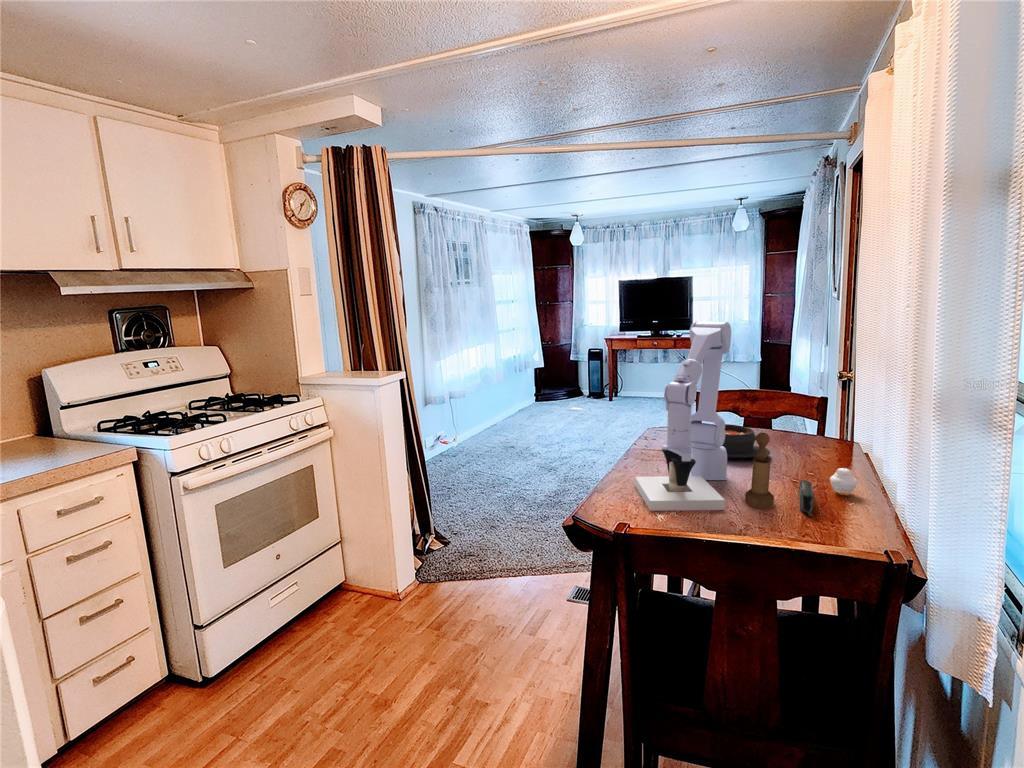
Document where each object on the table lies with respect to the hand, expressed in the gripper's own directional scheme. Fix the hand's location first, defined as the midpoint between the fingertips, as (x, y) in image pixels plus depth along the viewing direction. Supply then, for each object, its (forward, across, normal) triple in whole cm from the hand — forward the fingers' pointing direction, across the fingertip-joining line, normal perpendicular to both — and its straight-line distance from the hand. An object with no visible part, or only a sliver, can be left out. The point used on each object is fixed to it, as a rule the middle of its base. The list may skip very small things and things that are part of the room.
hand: (677, 480), depth 143 cm
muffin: (+5, -1, +43) cm, 43 cm away
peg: (+4, 0, 0) cm, 5 cm away
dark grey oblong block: (+5, +7, +30) cm, 31 cm away
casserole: (+5, -38, +27) cm, 47 cm away
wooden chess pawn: (+5, +5, +19) cm, 20 cm away
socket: (+4, 0, 0) cm, 4 cm away
